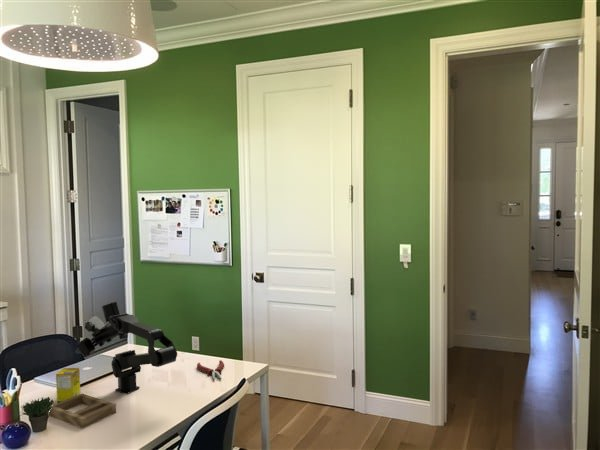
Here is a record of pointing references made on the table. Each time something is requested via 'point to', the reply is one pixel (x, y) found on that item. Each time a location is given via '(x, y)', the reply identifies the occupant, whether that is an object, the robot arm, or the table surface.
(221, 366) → the pliers
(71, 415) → the socket plate
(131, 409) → the table surface
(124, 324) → the robot arm
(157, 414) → the table surface
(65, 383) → the supplement box
